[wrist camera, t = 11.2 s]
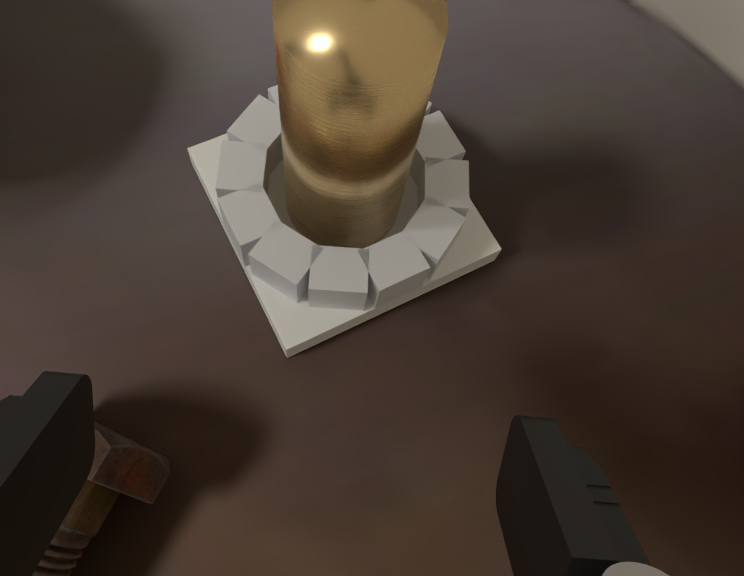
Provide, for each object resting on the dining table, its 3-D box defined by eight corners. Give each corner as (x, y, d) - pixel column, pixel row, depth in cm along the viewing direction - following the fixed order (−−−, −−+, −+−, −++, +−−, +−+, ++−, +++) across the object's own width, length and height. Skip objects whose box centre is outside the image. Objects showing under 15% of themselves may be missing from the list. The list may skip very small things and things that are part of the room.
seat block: (286, 357, 27) (284, 334, 24) (191, 163, 30) (178, 120, 27) (494, 260, 29) (515, 228, 26) (387, 88, 32) (395, 42, 29)
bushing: (317, 270, 27) (321, 110, 17) (267, 176, 28) (242, -26, 18) (419, 224, 28) (481, 47, 18) (366, 136, 30) (396, -76, 19)
